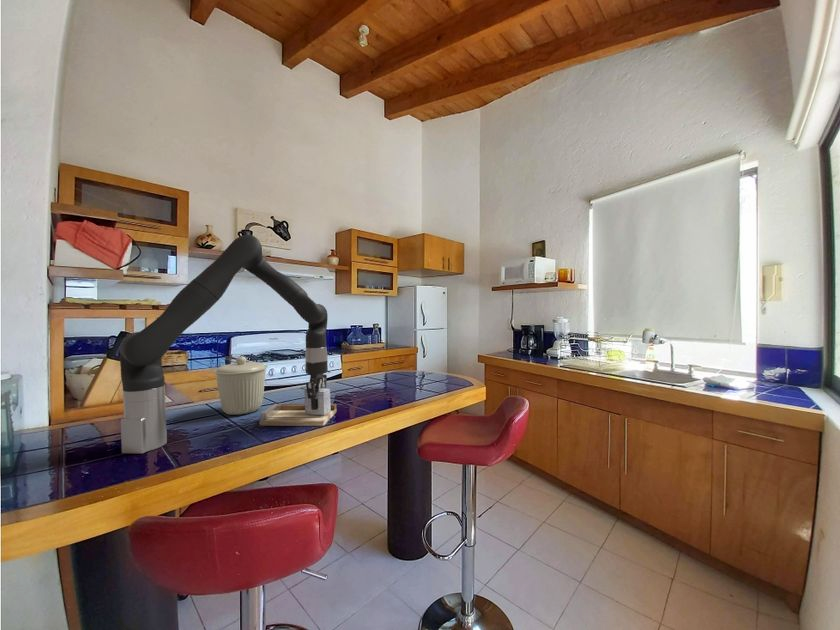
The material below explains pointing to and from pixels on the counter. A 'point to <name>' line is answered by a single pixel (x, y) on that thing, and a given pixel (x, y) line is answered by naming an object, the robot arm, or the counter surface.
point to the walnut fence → (300, 406)
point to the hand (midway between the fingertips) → (317, 406)
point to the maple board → (296, 419)
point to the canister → (241, 386)
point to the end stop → (270, 411)
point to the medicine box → (319, 403)
